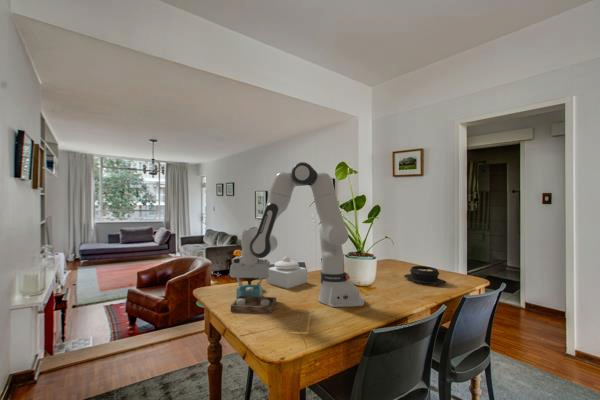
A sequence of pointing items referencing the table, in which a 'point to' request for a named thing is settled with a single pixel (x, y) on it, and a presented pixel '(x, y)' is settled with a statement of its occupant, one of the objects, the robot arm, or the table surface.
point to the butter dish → (287, 274)
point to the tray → (254, 305)
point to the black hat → (424, 275)
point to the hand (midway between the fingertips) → (249, 286)
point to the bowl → (255, 293)
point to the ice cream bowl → (249, 280)
